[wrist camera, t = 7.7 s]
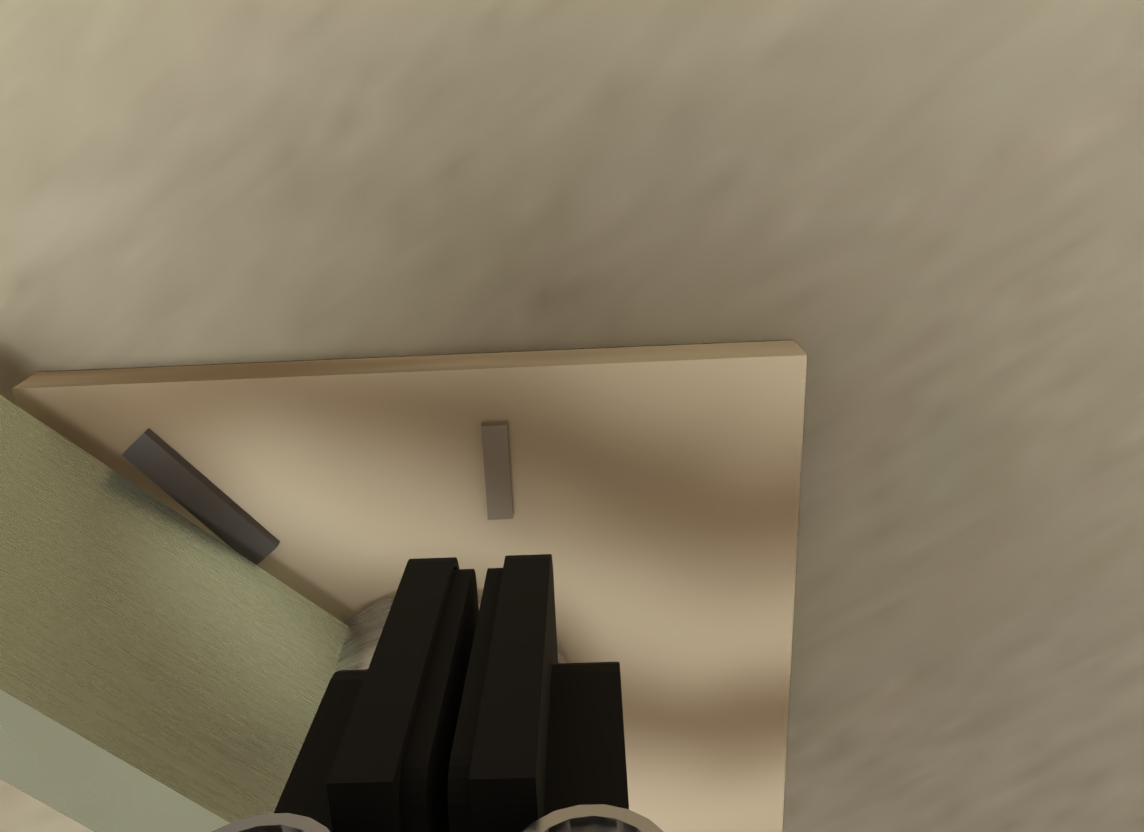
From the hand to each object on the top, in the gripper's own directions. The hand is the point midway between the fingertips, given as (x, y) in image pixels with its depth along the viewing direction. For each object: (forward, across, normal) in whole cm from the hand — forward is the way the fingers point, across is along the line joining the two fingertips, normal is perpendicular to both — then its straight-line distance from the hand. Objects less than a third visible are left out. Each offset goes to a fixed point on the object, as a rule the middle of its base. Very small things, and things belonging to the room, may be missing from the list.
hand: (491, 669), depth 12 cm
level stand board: (+13, +3, +8) cm, 16 cm away
